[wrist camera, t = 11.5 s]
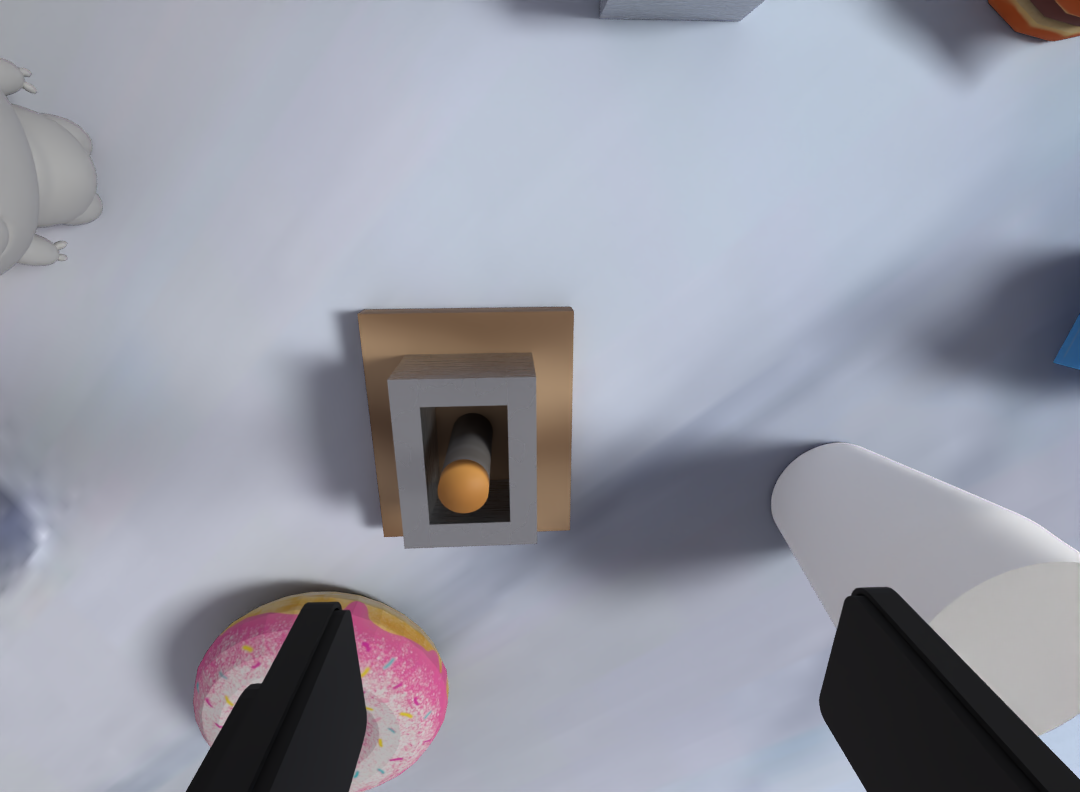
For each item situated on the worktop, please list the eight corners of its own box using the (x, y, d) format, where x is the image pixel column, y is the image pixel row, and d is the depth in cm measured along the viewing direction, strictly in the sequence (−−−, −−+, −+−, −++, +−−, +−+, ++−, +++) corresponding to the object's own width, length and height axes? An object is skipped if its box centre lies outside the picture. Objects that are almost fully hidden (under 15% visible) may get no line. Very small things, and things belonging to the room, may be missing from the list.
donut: (176, 657, 31) (118, 735, 27) (329, 528, 29) (295, 588, 24) (344, 769, 35) (319, 854, 31) (491, 662, 33) (489, 737, 28)
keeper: (364, 309, 25) (310, 344, 18) (570, 306, 26) (593, 340, 19) (389, 524, 29) (352, 619, 22) (567, 518, 30) (585, 608, 23)
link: (405, 354, 25) (387, 380, 21) (531, 352, 25) (536, 377, 21) (418, 502, 27) (404, 548, 24) (533, 498, 28) (537, 543, 24)
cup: (757, 574, 32) (895, 774, 20) (741, 443, 29) (893, 593, 17) (903, 539, 31) (1125, 721, 20) (902, 404, 28) (1163, 529, 17)
